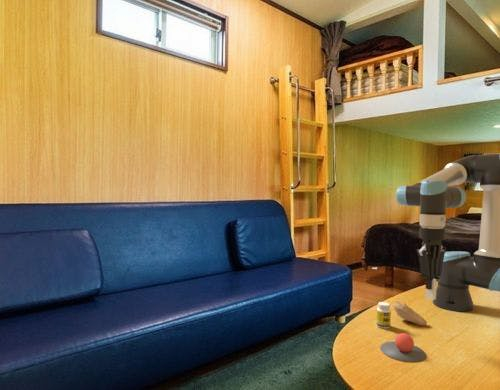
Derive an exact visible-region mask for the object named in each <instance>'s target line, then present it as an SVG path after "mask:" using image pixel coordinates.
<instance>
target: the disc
mask: <svg viewBox="0 0 500 390" xmlns="http://www.w3.org/2000/svg"><path fill="white" fill-rule="evenodd" d="M379 348H380V350H381V352H382V353H383V354H384V355H385V356H387V357H389V358H391V359H394V360H396V361H400V362H404V363H405V362H407V363H419V362H420V363H421V362H422V361H425V360H426V359H427V354H426V352H425V351H424V349H422V348H421V347H418V345H414V347H413V349H412V350H411V351H410V352H402V351H400V350H399V349H398V348H397V347H396V345H395V341H387V342H383V343H382V344H381V345H380V347H379Z"/></svg>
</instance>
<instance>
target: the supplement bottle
mask: <svg viewBox="0 0 500 390" xmlns="http://www.w3.org/2000/svg"><path fill="white" fill-rule="evenodd" d="M390 308H391V305H390V303H389V302H386V301H379V302H378V304H377V308H376V327H377V328H380V329H385V330H387V329H390V328H391V316H392V315H391V313H392V312H391V309H390Z"/></svg>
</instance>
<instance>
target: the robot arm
mask: <svg viewBox="0 0 500 390" xmlns="http://www.w3.org/2000/svg"><path fill="white" fill-rule="evenodd" d="M466 183H471V184H472V183H475V184H476V183H477V184H479V188H480V189H482V191H483V193H482V194H483V195H482V206H481V207H482V208H481V217H480V218H481V219H480V230H479V231H480V232H479V243H478V250H476V251H475V252H474V253H473V256H471V253H470V252H469V251H455V250H454V251H447V247H446V246H443V244H442V243H443V242H442V241H444V240H446V229H445V227H446V221H447V218H446V212H447V209H455V208H459V207H461V206H463V205H464V204H465V202H466V200H467V195H466V191H465V190H464V189H463V188H461V187H460V186H459V185H461V184H466ZM395 198H396V203H398V204H399V205H400V206H407V207H419V208H420V211H419V226H420V227H419V235H418V236H419V239H421V240H422V243H421V248H420V249H419V248H417V249H416V253H417V256H418V261H419V263H418V264H419V270H420V277H421V278H422V279H425V298H426V299H428V300H432V304H434V305H435V306H436V307H438V308H441V309H444V310H450V311H453V312H455V311H456V312H471V311H473V310H474V301H473V299H472V295H471V293H470V286H472V287H476V288H482V289H485V290H489V291H491V292H492V291H494V292H495V291H496V292H500V153H490V154H472V155H467V156H465V157H461V158H459V159H456V160H454V161H452V162H450V163H448V164H446V165H445V166H444V168H443V169H442V170H439V171H437V172H435V173H433V174H432V175H430V176H428V177H426V178H424V179H422V180H419V181H418V182H416V183H414V184H412V185H407V184H406V185H401V186H399V187H398V188H397V189H396V193H395Z"/></svg>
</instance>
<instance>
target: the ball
mask: <svg viewBox="0 0 500 390" xmlns="http://www.w3.org/2000/svg"><path fill="white" fill-rule="evenodd" d="M394 342H395V345H396V347H397V348H398V349H399V350H400V351H402V352H410V351H411V350H412V349H413V347H414V346H415V341H414V339H413V337H412V336H411V335H410V334H408V333H405V332H403V333H401V332H400V333H398V334H397V335H396V336H395V338H394Z"/></svg>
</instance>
